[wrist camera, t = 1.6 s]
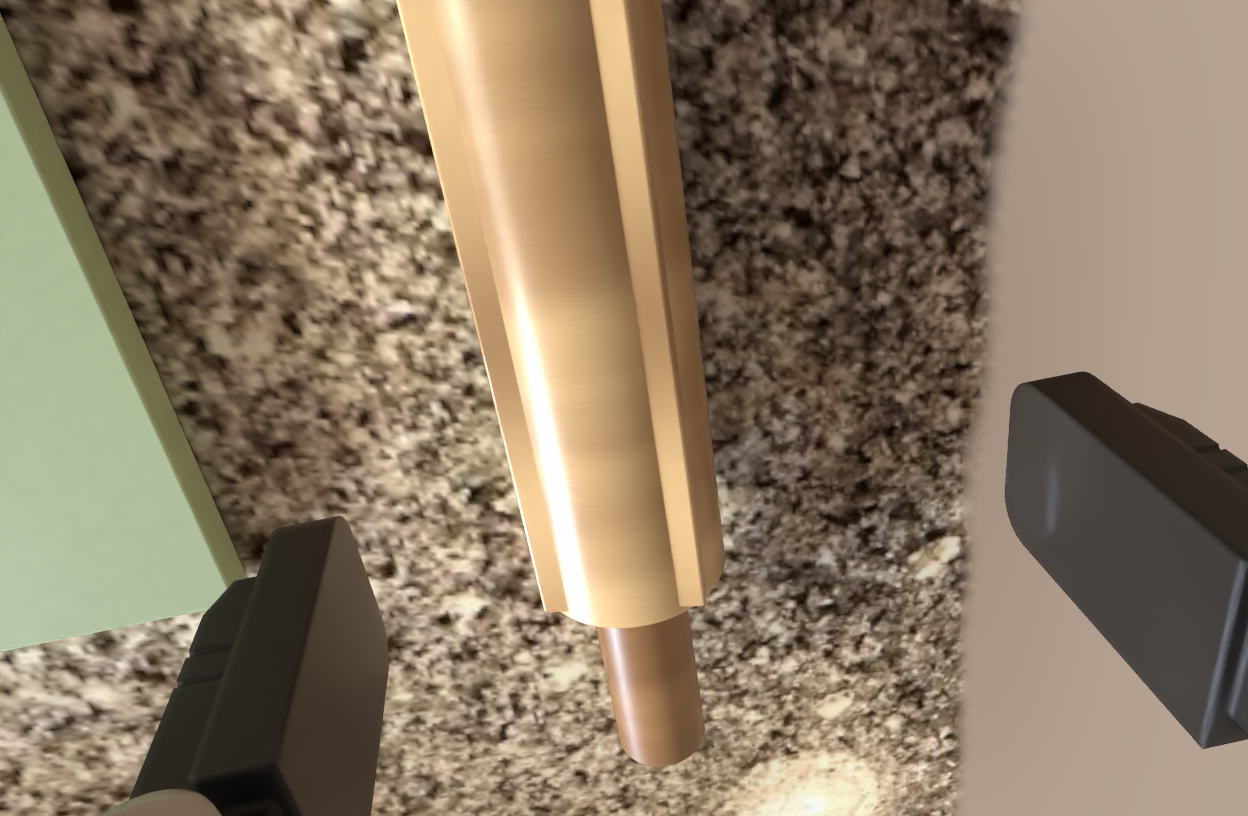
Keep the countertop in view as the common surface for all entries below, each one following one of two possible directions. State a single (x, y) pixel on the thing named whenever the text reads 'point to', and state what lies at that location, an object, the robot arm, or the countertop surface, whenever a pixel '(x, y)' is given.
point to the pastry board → (84, 419)
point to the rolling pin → (585, 321)
